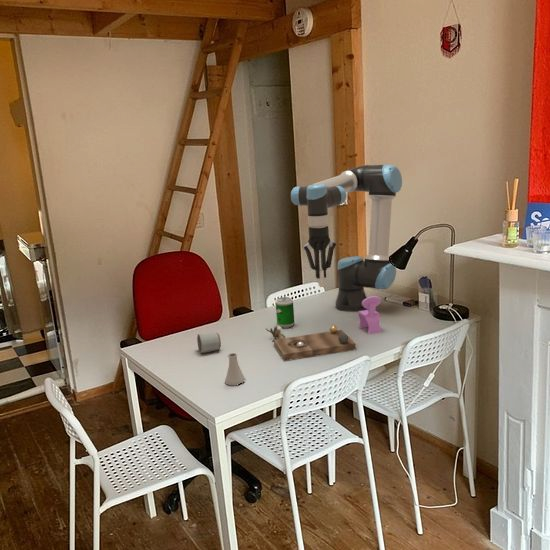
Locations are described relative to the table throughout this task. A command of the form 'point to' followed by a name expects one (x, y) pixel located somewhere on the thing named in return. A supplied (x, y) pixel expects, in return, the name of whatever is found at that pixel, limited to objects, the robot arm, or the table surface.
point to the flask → (234, 371)
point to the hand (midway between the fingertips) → (321, 286)
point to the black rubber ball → (343, 338)
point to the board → (312, 345)
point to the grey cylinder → (208, 342)
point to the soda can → (285, 312)
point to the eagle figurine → (276, 333)
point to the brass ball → (333, 329)
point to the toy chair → (370, 315)
